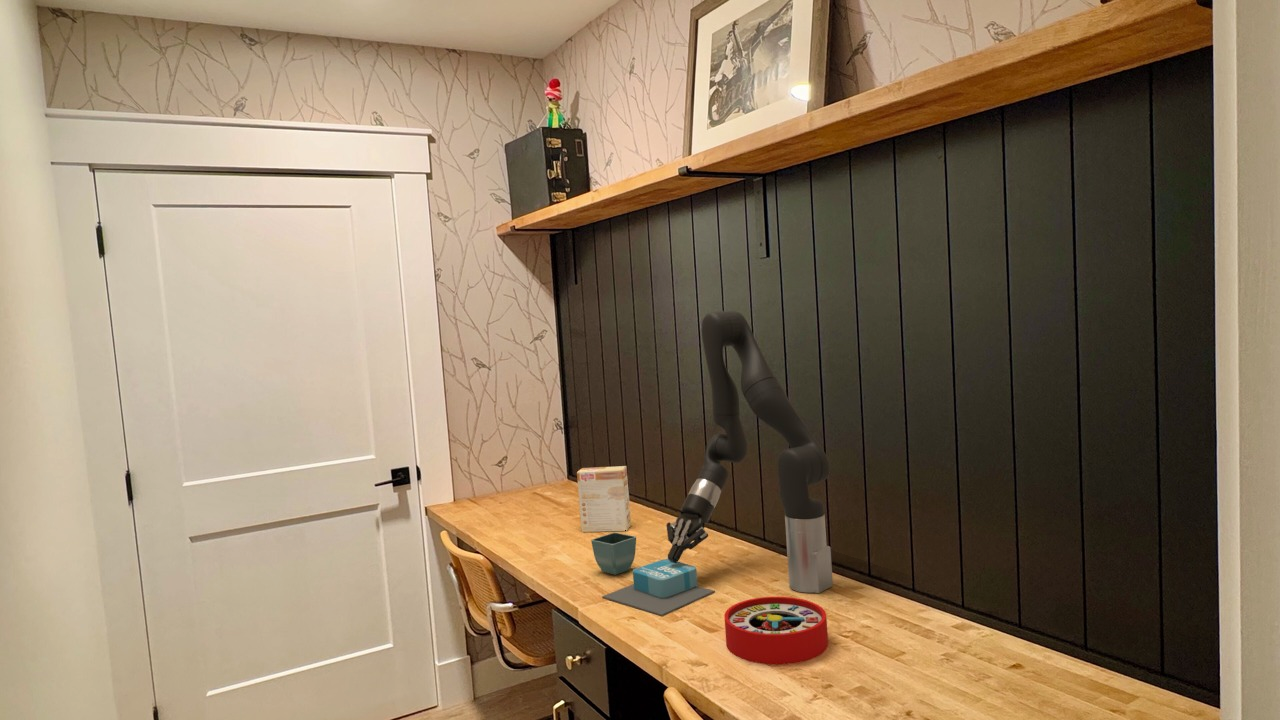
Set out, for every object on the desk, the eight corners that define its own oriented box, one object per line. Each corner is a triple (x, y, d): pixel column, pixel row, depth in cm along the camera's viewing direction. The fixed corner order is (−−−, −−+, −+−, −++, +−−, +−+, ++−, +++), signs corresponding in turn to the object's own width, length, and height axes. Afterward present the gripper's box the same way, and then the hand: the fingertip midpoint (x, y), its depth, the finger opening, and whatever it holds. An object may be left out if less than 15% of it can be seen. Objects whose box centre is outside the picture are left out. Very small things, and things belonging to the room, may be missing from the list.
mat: (714, 592, 187) (714, 590, 187) (662, 616, 174) (662, 614, 174) (655, 576, 201) (654, 575, 201) (602, 598, 189) (602, 596, 189)
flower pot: (617, 564, 214) (614, 531, 214) (639, 569, 208) (637, 536, 208) (592, 573, 208) (590, 539, 208) (615, 579, 202) (612, 544, 201)
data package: (699, 567, 191) (661, 580, 183) (700, 585, 191) (663, 599, 184) (666, 557, 200) (629, 570, 193) (667, 575, 200) (631, 588, 193)
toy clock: (727, 597, 168) (823, 595, 164) (728, 624, 168) (824, 623, 165) (721, 635, 148) (829, 634, 145) (723, 665, 148) (831, 666, 145)
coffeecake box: (631, 525, 253) (627, 465, 252) (627, 531, 246) (622, 469, 245) (586, 526, 256) (581, 467, 255) (581, 532, 249) (576, 471, 248)
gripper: (674, 490, 203) (644, 548, 195) (713, 495, 194) (683, 557, 186) (689, 505, 207) (660, 564, 199) (728, 512, 198) (699, 573, 190)
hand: (671, 561), depth 193 cm, fingers closed
